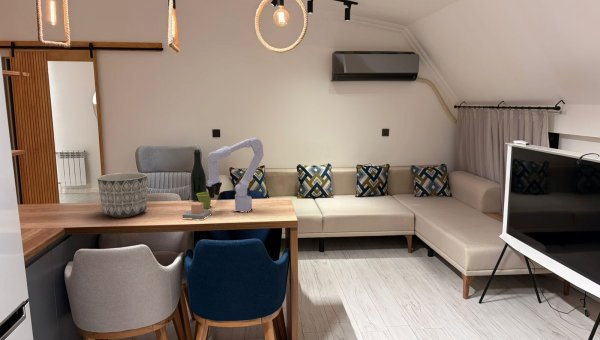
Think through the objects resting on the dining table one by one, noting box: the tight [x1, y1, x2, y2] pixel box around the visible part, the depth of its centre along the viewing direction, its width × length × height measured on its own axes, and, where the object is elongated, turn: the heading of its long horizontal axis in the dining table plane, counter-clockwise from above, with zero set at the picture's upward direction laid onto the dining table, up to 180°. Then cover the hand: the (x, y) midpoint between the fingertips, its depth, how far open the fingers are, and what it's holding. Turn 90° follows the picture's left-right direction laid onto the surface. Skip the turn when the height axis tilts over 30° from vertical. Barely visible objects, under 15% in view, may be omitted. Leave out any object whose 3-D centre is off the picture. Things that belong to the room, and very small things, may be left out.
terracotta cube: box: [190, 202, 205, 214], centre depth 244 cm, size 5×5×5 cm
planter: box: [97, 172, 148, 218], centre depth 249 cm, size 26×26×22 cm
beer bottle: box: [189, 148, 208, 202], centre depth 283 cm, size 10×10×33 cm
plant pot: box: [196, 191, 212, 210], centre depth 265 cm, size 9×9×9 cm
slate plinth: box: [182, 209, 213, 220], centre depth 245 cm, size 12×12×3 cm
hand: (214, 196), depth 253 cm, fingers open, 7 cm apart
